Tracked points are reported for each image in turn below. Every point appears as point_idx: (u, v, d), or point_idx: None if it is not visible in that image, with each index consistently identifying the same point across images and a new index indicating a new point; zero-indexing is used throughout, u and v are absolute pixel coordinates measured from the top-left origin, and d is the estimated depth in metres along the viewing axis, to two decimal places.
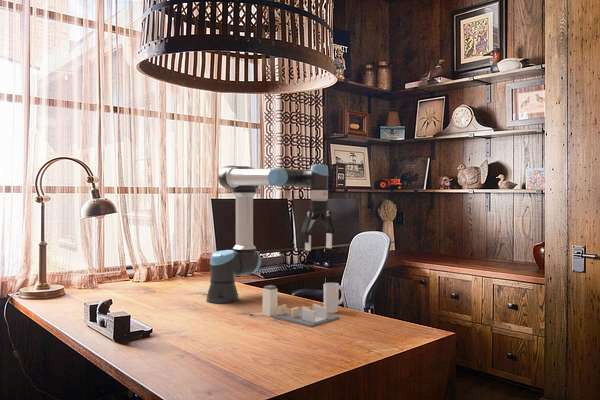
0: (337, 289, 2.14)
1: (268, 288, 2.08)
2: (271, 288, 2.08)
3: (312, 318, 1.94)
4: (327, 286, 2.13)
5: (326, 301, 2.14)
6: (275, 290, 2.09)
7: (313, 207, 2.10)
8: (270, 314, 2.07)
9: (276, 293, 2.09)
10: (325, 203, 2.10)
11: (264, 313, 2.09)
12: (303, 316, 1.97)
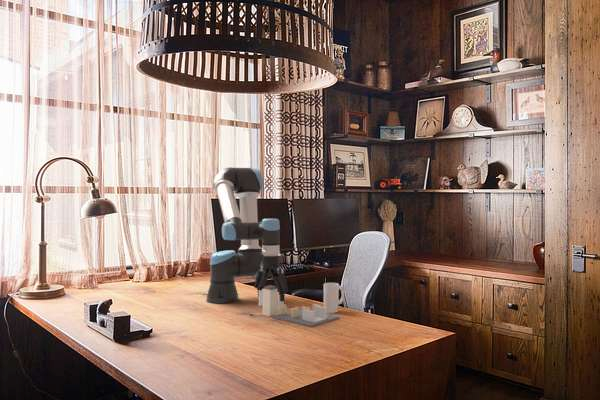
0: (337, 289, 2.14)
1: (268, 288, 2.08)
2: (271, 288, 2.08)
3: (312, 318, 1.94)
4: (327, 286, 2.13)
5: (326, 301, 2.14)
6: (275, 290, 2.09)
7: None
8: (270, 314, 2.07)
9: (276, 293, 2.09)
10: (264, 258, 2.06)
11: (264, 313, 2.09)
12: (303, 316, 1.97)
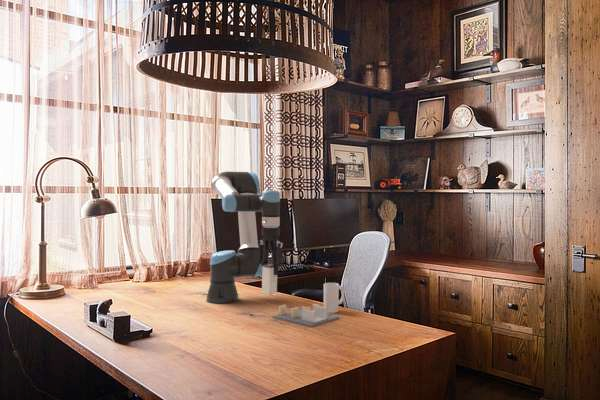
0: (337, 289, 2.14)
1: (268, 266, 2.08)
2: (271, 266, 2.08)
3: (312, 318, 1.94)
4: (327, 286, 2.13)
5: (326, 301, 2.14)
6: None
7: None
8: (269, 292, 2.07)
9: None
10: (264, 230, 2.06)
11: (263, 291, 2.09)
12: (303, 316, 1.97)
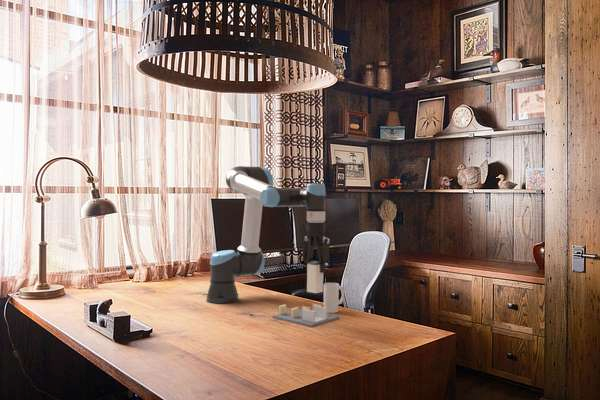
0: (337, 289, 2.14)
1: (313, 263, 1.96)
2: (317, 263, 1.96)
3: (312, 318, 1.94)
4: (327, 286, 2.13)
5: (326, 301, 2.14)
6: None
7: None
8: (316, 291, 1.95)
9: None
10: (309, 225, 1.95)
11: (309, 290, 1.97)
12: (303, 316, 1.97)
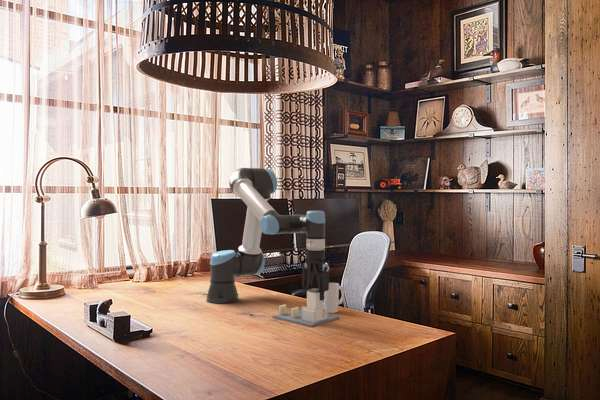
0: (337, 289, 2.14)
1: (313, 291, 1.96)
2: (316, 291, 1.96)
3: (312, 318, 1.94)
4: None
5: (326, 301, 2.14)
6: None
7: None
8: (315, 319, 1.95)
9: None
10: (309, 253, 1.95)
11: None
12: (303, 316, 1.97)
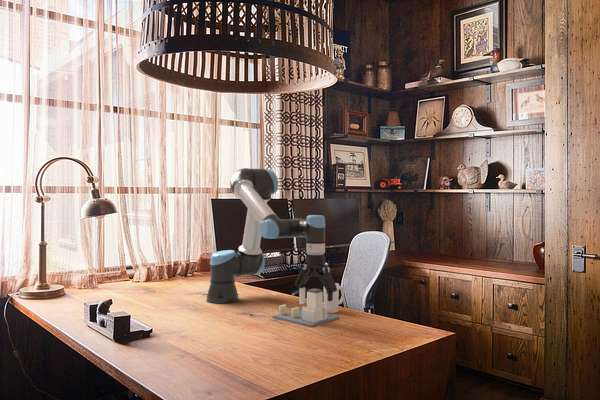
0: (337, 289, 2.14)
1: (313, 291, 1.96)
2: (316, 291, 1.96)
3: (312, 318, 1.94)
4: None
5: None
6: (320, 293, 1.97)
7: None
8: (315, 319, 1.95)
9: (322, 297, 1.98)
10: (309, 257, 1.95)
11: None
12: (303, 316, 1.97)
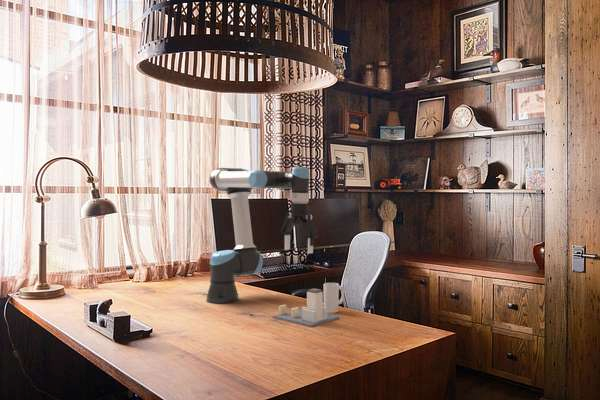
0: (337, 289, 2.14)
1: (313, 291, 1.96)
2: (316, 291, 1.96)
3: (312, 318, 1.94)
4: (327, 286, 2.13)
5: (326, 301, 2.14)
6: (320, 293, 1.97)
7: None
8: (315, 319, 1.95)
9: (322, 297, 1.98)
10: (293, 205, 2.12)
11: None
12: (303, 316, 1.97)
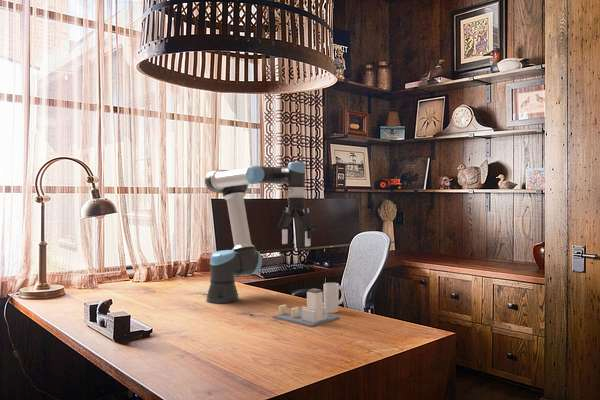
0: (337, 289, 2.14)
1: (313, 291, 1.96)
2: (316, 291, 1.96)
3: (312, 318, 1.94)
4: (327, 286, 2.13)
5: (326, 301, 2.14)
6: (320, 293, 1.97)
7: None
8: (315, 319, 1.95)
9: (322, 297, 1.98)
10: (290, 200, 2.15)
11: None
12: (303, 316, 1.97)
